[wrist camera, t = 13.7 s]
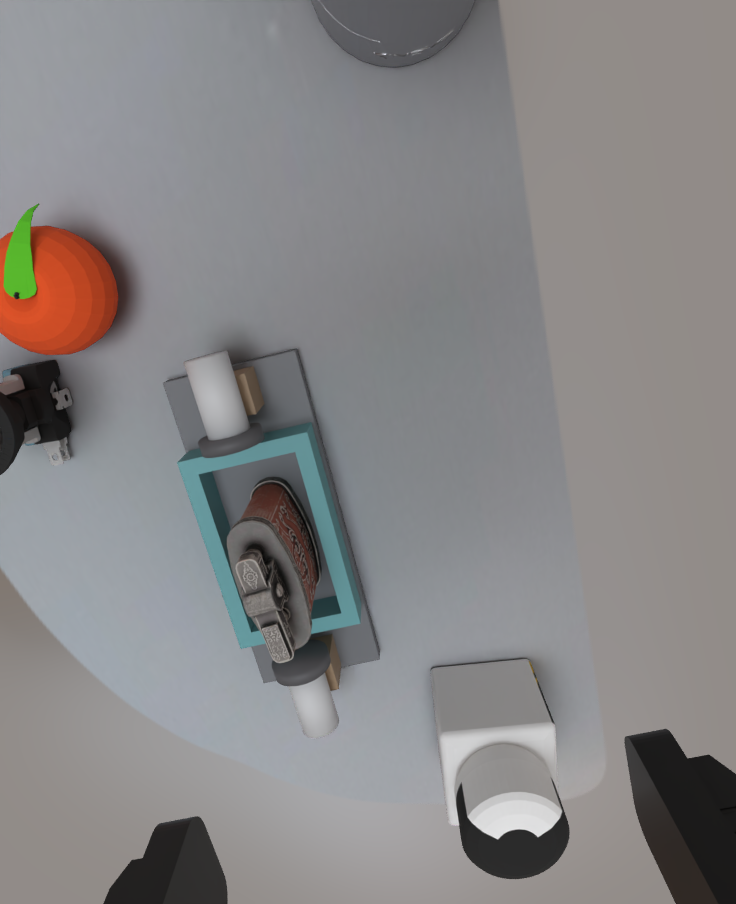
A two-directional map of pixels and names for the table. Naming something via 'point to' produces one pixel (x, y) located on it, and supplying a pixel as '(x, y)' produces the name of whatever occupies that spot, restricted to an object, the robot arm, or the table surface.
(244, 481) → the shaft cradle
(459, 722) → the medicine bottle
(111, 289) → the clementine
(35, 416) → the push button
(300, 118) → the table surface
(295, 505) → the lighter
